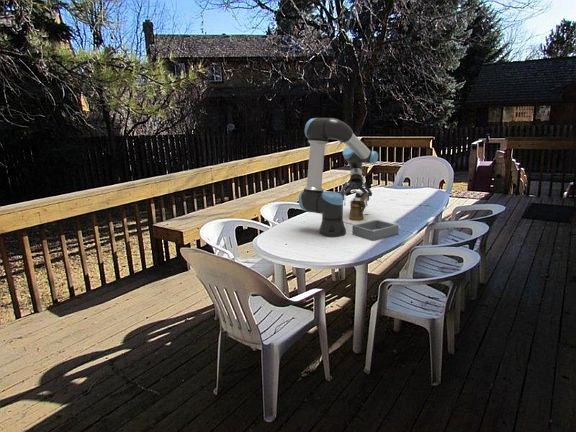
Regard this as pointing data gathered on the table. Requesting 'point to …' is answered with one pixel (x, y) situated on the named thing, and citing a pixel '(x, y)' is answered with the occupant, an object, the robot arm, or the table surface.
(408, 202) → the table surface
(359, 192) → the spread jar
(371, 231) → the hollow square frame
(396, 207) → the table surface
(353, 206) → the wooden mug
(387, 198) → the table surface
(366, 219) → the cream board
